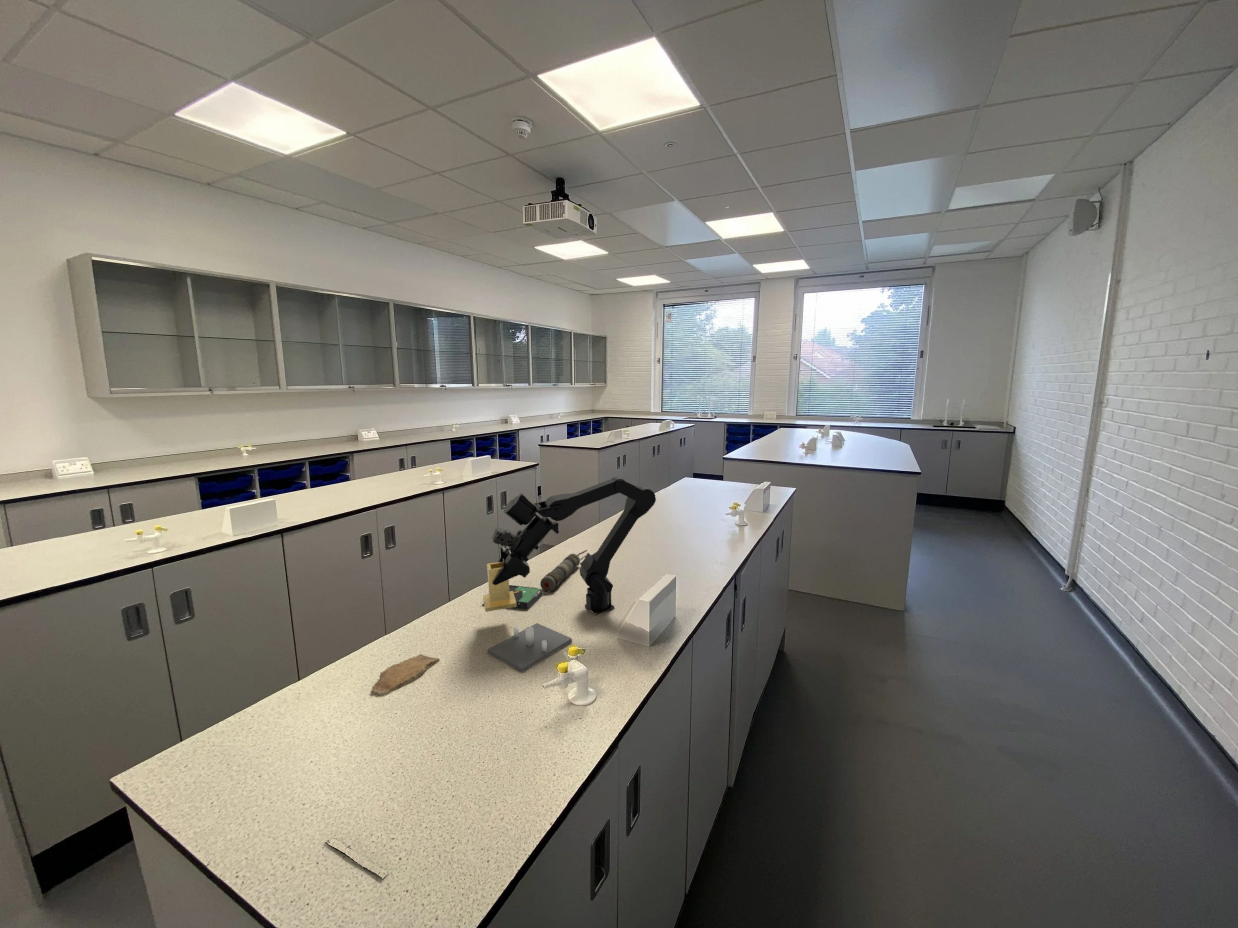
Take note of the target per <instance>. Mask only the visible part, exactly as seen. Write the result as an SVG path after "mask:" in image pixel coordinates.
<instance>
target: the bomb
mask: <svg viewBox="0 0 1238 928" xmlns="http://www.w3.org/2000/svg"><path fill="white" fill-rule="evenodd" d="M586 552H588V550H587V549H586V550H584V551H581V552H579V553H578V554H577V553H576V554H575V553H570V554H568V555H567V556H566V557H565V558H564V559H562V561H561V562H560V563H559V564H558V565H556V567H555V568H553V569H552V570H551V571H550V572H548V573H547V574H546V575H545V576H544V577H542V578H541V580H540V585H539V586H540V589H542V591H543V592H547V593H550V592H553V590H555V589H556V588H557V587H558V586H559V585H561V582H562V581H563V580H564V579H566V577H567V576H568V575H570V574H571V573H572V572H573V571H574V570H576V568H577V567H579V565H580V563H581V559H580V557H579V556H580V555H583V554H585V553H586ZM572 570H573V571H572Z"/></svg>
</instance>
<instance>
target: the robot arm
mask: <svg viewBox="0 0 1238 928" xmlns="http://www.w3.org/2000/svg"><path fill="white" fill-rule="evenodd" d="M617 494H621V495H623V496H625V497H626V500H625V505H624V509H623V511H622V512H621V514H620V516H619V517H618V518H617V520H616V522H615V523H614V525H613V527H612V528H611V530H610V531H609V533H608V534H607V535H606V537H605V539H604V540H603V542H602V544H601V545H600V547H599V548H598V550H597V551H596V552H594V553H593V554H590V553H589V552H587V553H586V555H585V557H584V559H583V560H582V562H581V561H580V564H579V565H580V567H579V575H580V577H581V578H582V580H583V581H584V582H585V584H586V586H588V587H587V588H586V591H587V592H586V594H585V604H584V607H585V608H587V609H588V610H589V611H590V612H591V613H593V614H594V615H598V614H602V613H605V612H608V611H611V610H613V609H615V605H613V604H612V589H613V586H614V585H613V583H612V582H611V581H610V580H609V578H608V577H607V575H608V573H609V570H610V565H611V561H612V559H613V557H614V556H615V554H616V553H617V552H618V550H619V548H620V547H621V545H622V544H623V542H624V541H625V540H626V537H627V536H628V534H629V533H630V531H632V528H633V527H634V525H635V523H636V522H637V521H638V520H639V519H640V518H642V517H643V516H645V515H646V514H647V513H648V512H649V511H650V510H651V509H652V508H653V506H654V505H655V504H656V501H657V498H656V494H655V492H654V491H653V490H651V489H650V488H647V487H646V486H644V485H642V484H638V485H634V484H632V483H630V482H628V481H626V480H625V479H623V478H621V477H620V476H614V477H612V478H610V479H607V480H605V481H602V482H599V483H597V484H594V485H592V486H590V487H586V488H584V489H580V490H579V491H576V492H572V493H561V494H555V495H550V496H549V497H547V498H546V500H543V501H539V502H534V503H533V502H532V501H531V500H529V499H528V498H527V496H525V494H523V492H522V493H519V495H517V496H515V497H514V498H513V499H510V501H508V503H507V505H505V507H504V509H503V513H504V514H505V515H506V516H508V517H509V518H510V519H511V520H512V521H513V522H515V523H516V524H518V526H523V525H524V526H525V527H524V528H523V529H518V530H517V531H516V532H513V531H511V530H507V529H504V528H501V527H499V526H498V527H497V526H496V528H495V530H494V533H493V534H492V537H491V539H492V542H493V544H496V545H500V547H499V554H500V556H499V559H498V560H497V562H503V567H502V568H501V570H500V571H499V573H498V574H497V576H496V577H495V579H494V581H493V582H492V583H493V584H494V585H498V584H500V583H502V582H504V581H506V580H508V579H509V580H511V579H513V578H515V577H518V576H521V577H522V578H524V579H525V578H526V577H527V576H528V575H529V574H530V573H531V569H530V568H531V567H530V566H529V563H528V561H529V556H530V555H531V553H532V552H533V551H534V550H535V551H538V549H539V548H540V544H541V542H543V540H544V538H546V537H547V536H548V535H549V533H550V532H551V531H553V532H554V533H555V534H559V533H560V531H559V525H560V523H558V522H561V521H564V520H565V519H567V518H569V517H571V516H572V515H574V514H575V513H576V512H577V511H578V510H580V509H581V508H584V507H586V506H588V505H591V504H593V503H596V502H599V501H601V500H605V499H607V498H609V497H611V496H614V495H617Z"/></svg>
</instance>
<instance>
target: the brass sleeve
mask: <svg viewBox="0 0 1238 928" xmlns="http://www.w3.org/2000/svg"><path fill="white" fill-rule="evenodd" d="M502 567H503V562H498V561H497V562H491V563H490V562H489V563H486V569H487V570H486V571H487V585H488V586H487V587H488V594H484V595H482V596H483V599H484V600H483V599H482V600H483V605H484V610H485V611H484V612H487V613H488V612H492V611H498V610H506V609H510V608H511V607H517V603H516V600H515V596H514V593H513V591H509V585H510V579H508V580H506V581H504V582H502V583H500V584H498V585H494V584H493V583H492V582H493V581H494V579H495V577H496V576H497V574H498V573H499V571H500V570H501V568H502ZM511 609H512V608H511Z"/></svg>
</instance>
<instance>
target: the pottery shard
mask: <svg viewBox="0 0 1238 928" xmlns="http://www.w3.org/2000/svg"><path fill="white" fill-rule="evenodd" d="M439 662H440V658H438V657H433V656H432V657H431V656H428V655H427V656H426V655H424V654H421V653H420V654H418V655H417V656H414V657H409V658H407V659H404V660H402V661H400V662H399V663H395V664H392V665H390V666H388V667H386V669H384V670H383V671H382V672H380V674H379V679H378V681H376V682H375V683H374V684H373V686H372V689H371V692H372V694H374V695H375V694H376V695H377V696H384V695H385V696H387V695H389V694H391V693H393V692H395V691H396V690H397V689H398V690H399V689H400V688H402V687H403V686H406V685H407V684H409V683H412V682H413V681H414V680H416V679H418V678H420V677H421V676H422V674H424V672H427V671H428V670H429V669H430V668H432V667H433V666H436V664H438V663H439Z"/></svg>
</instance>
